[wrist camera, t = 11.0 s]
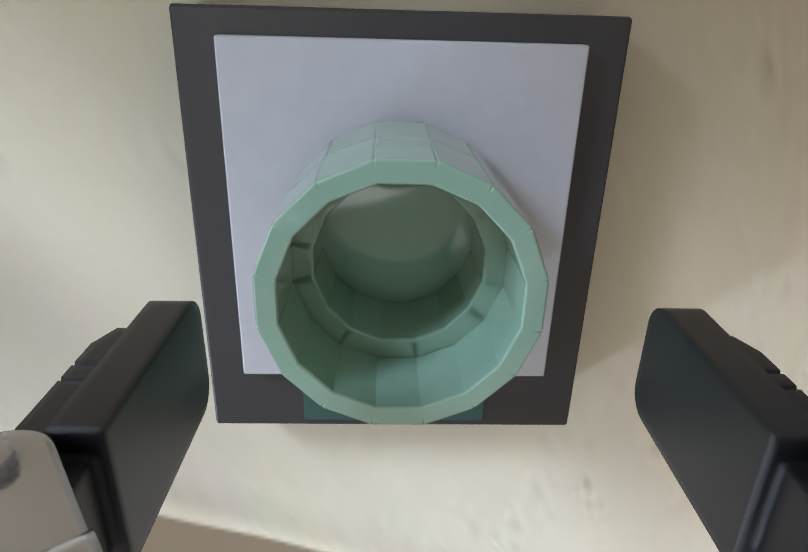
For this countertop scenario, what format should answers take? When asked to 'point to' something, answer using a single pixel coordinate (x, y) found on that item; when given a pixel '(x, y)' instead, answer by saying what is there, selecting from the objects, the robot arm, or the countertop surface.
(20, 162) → the countertop surface
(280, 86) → the scale
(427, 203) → the bowl
